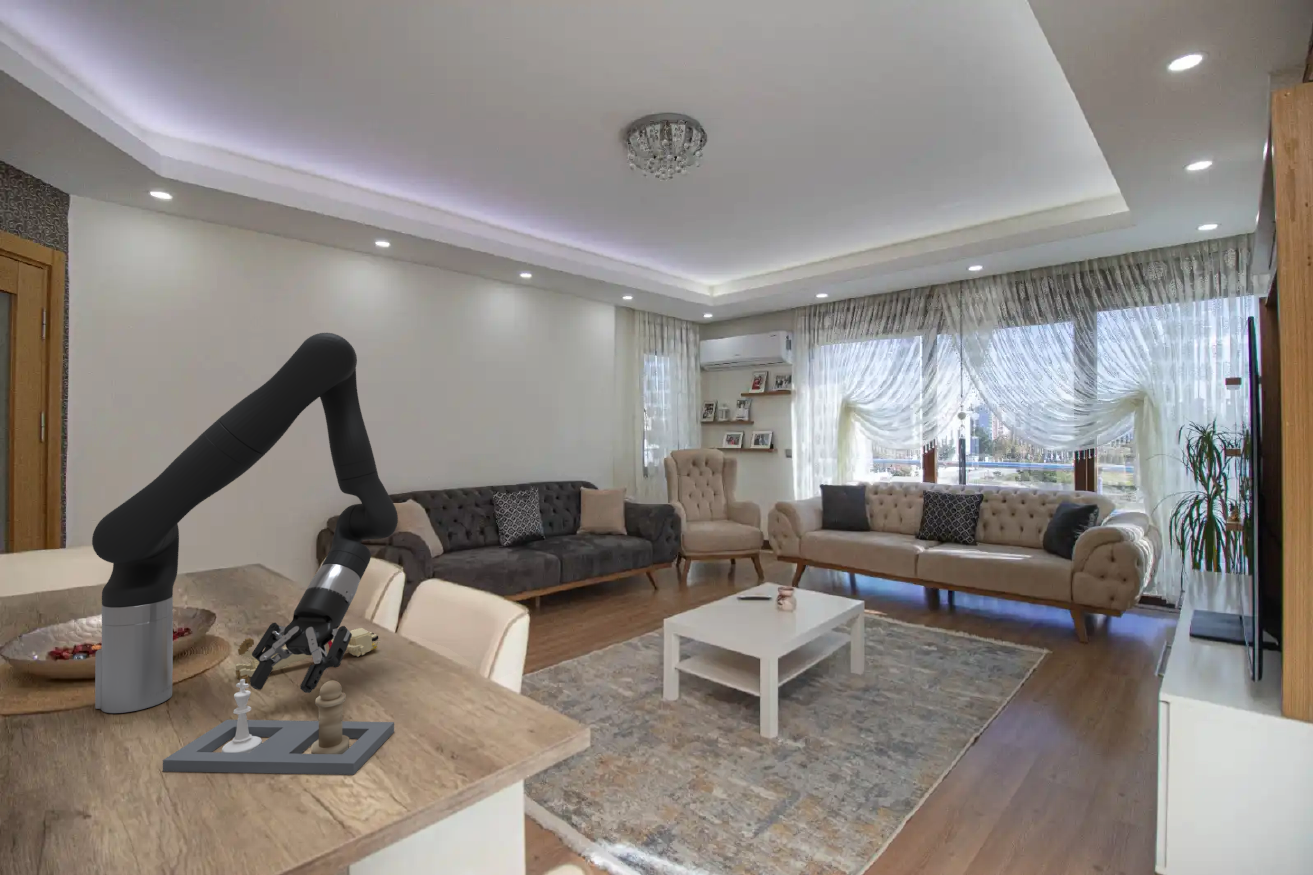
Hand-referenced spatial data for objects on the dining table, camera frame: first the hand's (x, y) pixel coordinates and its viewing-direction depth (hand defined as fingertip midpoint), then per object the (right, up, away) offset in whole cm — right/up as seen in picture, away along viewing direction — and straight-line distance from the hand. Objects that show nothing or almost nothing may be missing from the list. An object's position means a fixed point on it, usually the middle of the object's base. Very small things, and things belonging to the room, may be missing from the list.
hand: (279, 689), depth 96 cm
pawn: (+12, -6, -8) cm, 15 cm away
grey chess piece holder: (+5, -6, -7) cm, 11 cm away
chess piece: (-1, -6, -7) cm, 9 cm away
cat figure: (-9, -6, +26) cm, 29 cm away
